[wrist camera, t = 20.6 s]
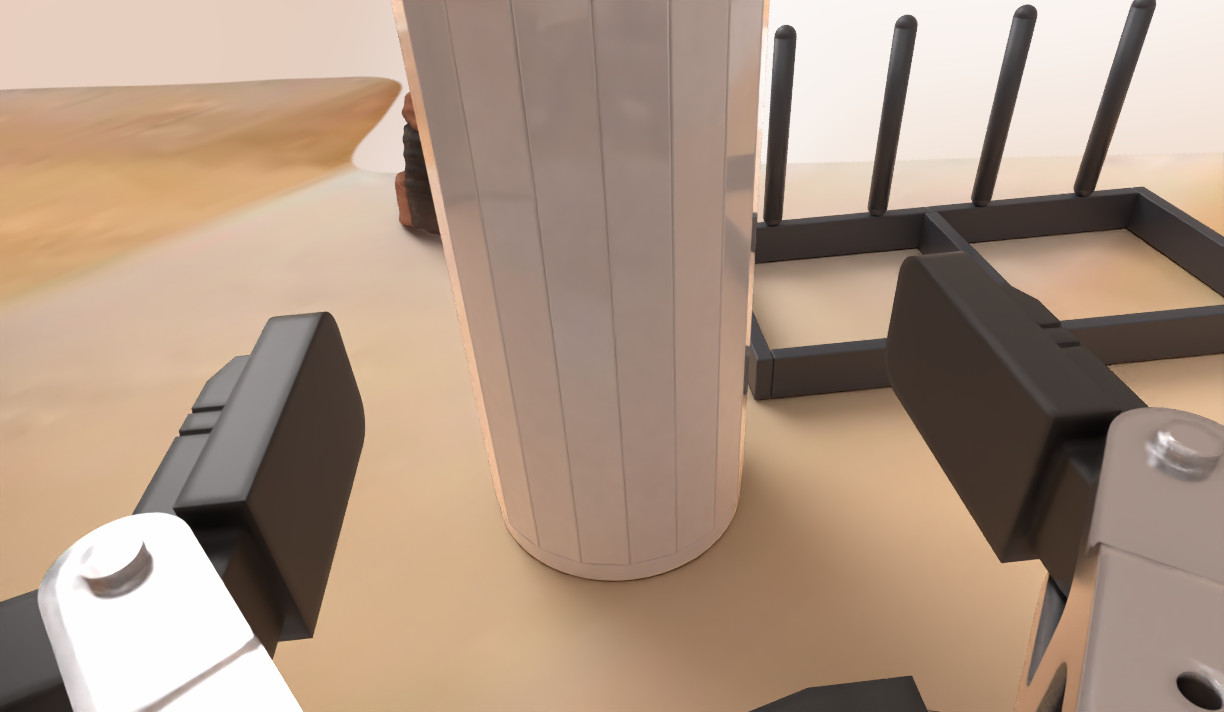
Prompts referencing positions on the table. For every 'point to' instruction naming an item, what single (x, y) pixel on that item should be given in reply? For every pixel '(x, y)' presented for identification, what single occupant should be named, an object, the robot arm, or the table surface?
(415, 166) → the pottery mug
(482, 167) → the tumbler
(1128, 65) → the dish rack
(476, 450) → the table surface
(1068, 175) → the table surface
